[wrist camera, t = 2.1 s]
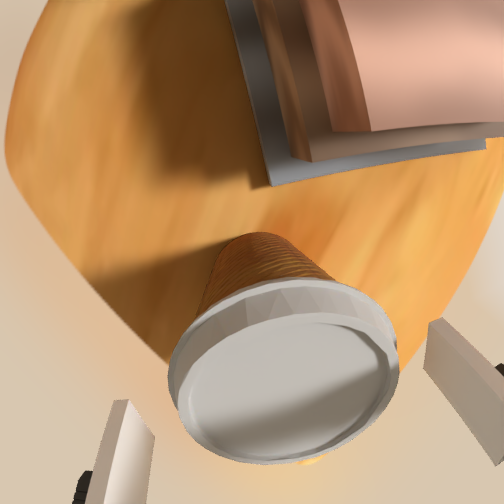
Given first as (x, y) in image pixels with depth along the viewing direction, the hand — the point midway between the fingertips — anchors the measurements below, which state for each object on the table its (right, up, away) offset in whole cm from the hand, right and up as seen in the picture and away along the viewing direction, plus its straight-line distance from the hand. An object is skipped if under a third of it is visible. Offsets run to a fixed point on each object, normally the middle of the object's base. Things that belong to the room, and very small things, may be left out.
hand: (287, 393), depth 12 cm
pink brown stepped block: (+6, +20, +5) cm, 22 cm away
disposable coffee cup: (-1, +4, +10) cm, 11 cm away
